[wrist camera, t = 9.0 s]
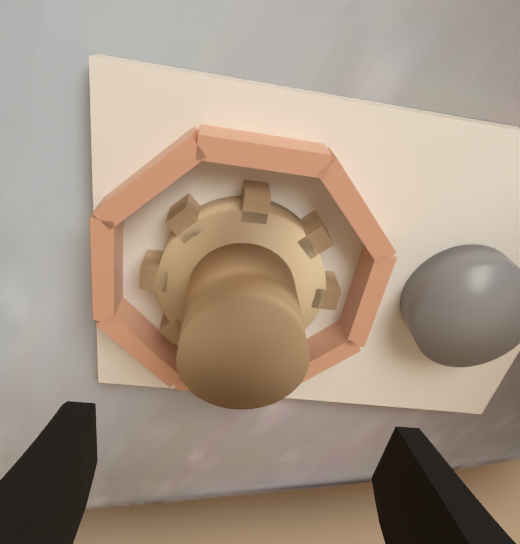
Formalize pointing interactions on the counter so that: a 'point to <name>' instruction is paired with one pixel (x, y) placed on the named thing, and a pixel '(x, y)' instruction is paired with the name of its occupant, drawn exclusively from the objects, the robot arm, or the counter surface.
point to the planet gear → (240, 294)
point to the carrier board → (336, 217)
